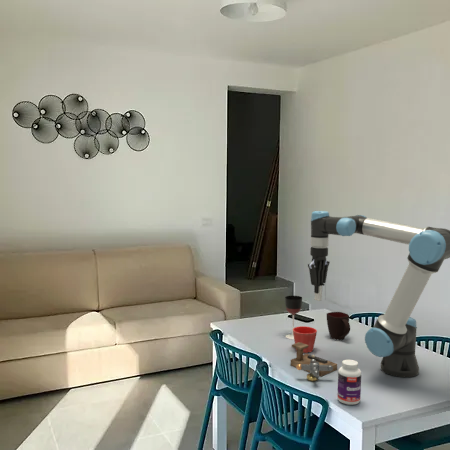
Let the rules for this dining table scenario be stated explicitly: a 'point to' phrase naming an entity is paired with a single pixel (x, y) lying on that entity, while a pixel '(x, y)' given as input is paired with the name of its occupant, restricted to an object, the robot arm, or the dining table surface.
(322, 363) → the level stand
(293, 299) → the wineglass
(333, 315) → the cup
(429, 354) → the dining table surface
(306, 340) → the flower pot
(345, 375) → the pill bottle
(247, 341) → the dining table surface
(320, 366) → the capstan
